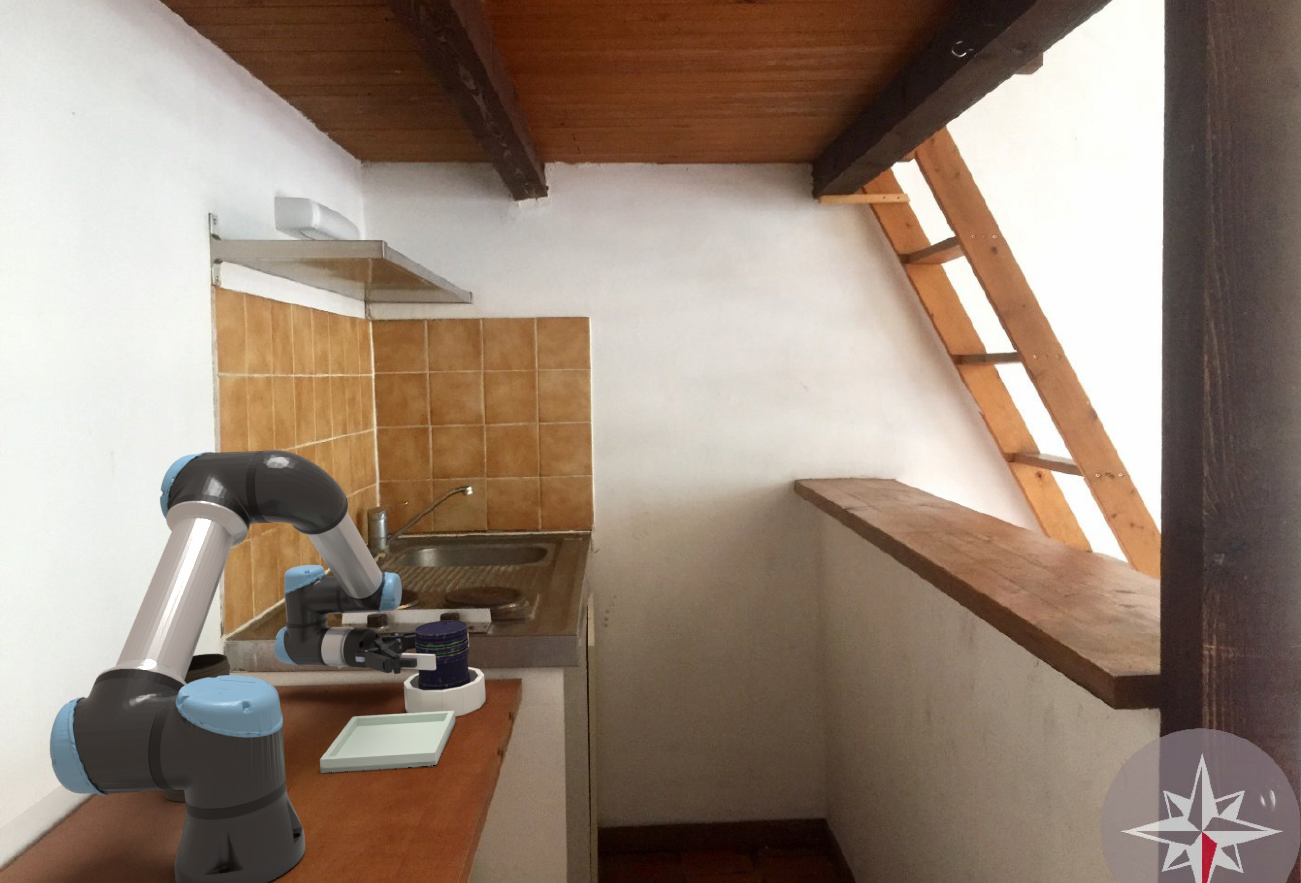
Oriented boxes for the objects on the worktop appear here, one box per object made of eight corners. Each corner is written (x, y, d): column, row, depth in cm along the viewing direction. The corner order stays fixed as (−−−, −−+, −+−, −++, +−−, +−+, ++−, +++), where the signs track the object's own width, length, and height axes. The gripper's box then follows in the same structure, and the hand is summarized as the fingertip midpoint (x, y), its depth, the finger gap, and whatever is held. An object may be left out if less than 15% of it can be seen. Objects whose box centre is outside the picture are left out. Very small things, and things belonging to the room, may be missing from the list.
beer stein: (259, 770, 140) (242, 648, 139) (220, 802, 129) (201, 670, 128) (170, 776, 142) (152, 655, 141) (124, 808, 131) (104, 678, 130)
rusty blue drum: (464, 713, 161) (460, 634, 160) (412, 715, 161) (407, 635, 161) (477, 694, 171) (473, 619, 170) (428, 695, 171) (423, 620, 170)
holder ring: (442, 724, 156) (440, 697, 156) (390, 710, 165) (388, 684, 164) (500, 698, 168) (498, 673, 168) (448, 686, 176) (447, 662, 176)
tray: (435, 766, 139) (435, 752, 139) (320, 773, 138) (319, 759, 138) (455, 722, 157) (454, 710, 157) (353, 728, 156) (352, 716, 156)
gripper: (387, 646, 183) (481, 650, 178) (314, 688, 159) (420, 693, 153) (385, 611, 182) (479, 613, 177) (311, 647, 158) (418, 651, 153)
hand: (452, 650), depth 165 cm, fingers open, 13 cm apart
